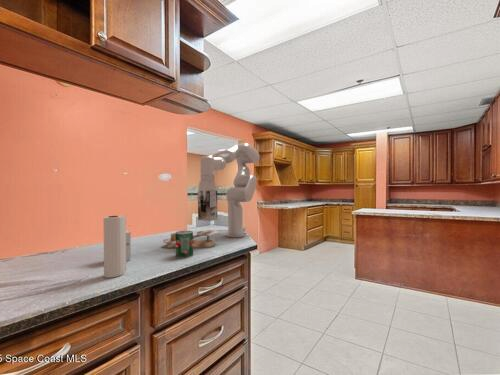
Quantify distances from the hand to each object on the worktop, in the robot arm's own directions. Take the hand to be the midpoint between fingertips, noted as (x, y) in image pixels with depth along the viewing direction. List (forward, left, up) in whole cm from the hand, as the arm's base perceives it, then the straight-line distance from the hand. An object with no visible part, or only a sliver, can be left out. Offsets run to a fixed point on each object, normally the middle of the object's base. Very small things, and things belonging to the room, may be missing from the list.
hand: (207, 211), depth 135 cm
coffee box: (0, 0, -5) cm, 5 cm away
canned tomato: (+22, +4, -19) cm, 29 cm away
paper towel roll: (+52, +1, -19) cm, 56 cm away
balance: (+5, -8, -19) cm, 21 cm away
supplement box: (+41, -15, -19) cm, 48 cm away
